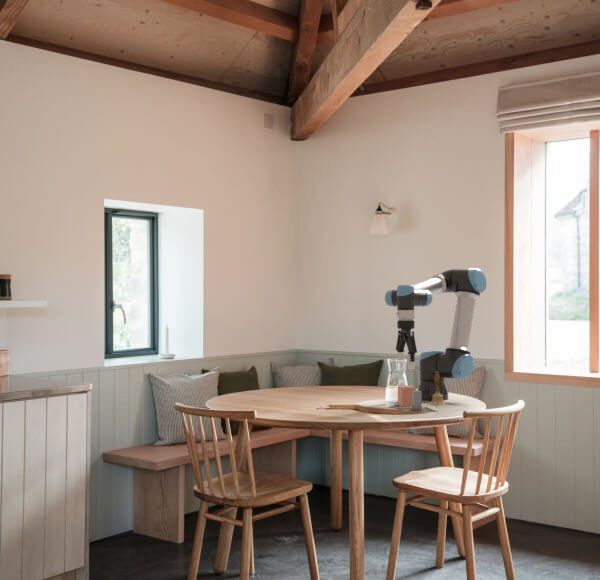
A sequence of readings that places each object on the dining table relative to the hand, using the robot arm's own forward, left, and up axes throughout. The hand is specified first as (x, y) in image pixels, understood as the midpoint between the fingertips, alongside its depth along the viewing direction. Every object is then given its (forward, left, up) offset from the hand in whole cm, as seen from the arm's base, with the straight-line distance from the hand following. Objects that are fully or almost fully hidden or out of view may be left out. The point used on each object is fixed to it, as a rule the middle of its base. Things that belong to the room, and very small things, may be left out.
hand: (406, 368), depth 348 cm
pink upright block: (0, 0, -18) cm, 18 cm away
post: (+1, +15, -16) cm, 22 cm away
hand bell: (-15, -1, -18) cm, 24 cm away
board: (+1, +15, -18) cm, 23 cm away
